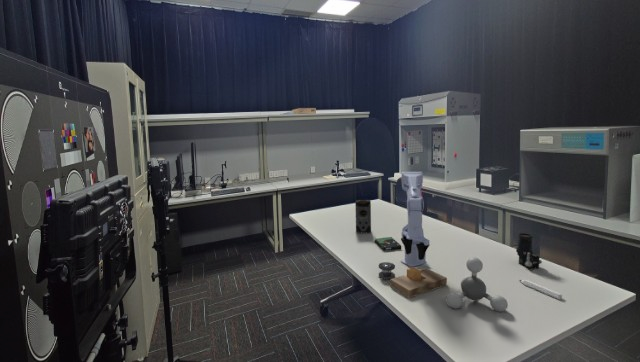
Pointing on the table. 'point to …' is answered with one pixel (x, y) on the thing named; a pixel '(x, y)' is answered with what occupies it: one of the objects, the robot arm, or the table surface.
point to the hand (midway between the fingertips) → (414, 256)
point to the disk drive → (388, 244)
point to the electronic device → (363, 216)
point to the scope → (527, 252)
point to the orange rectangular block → (414, 274)
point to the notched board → (418, 283)
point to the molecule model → (475, 289)
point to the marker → (541, 289)
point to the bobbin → (386, 271)
